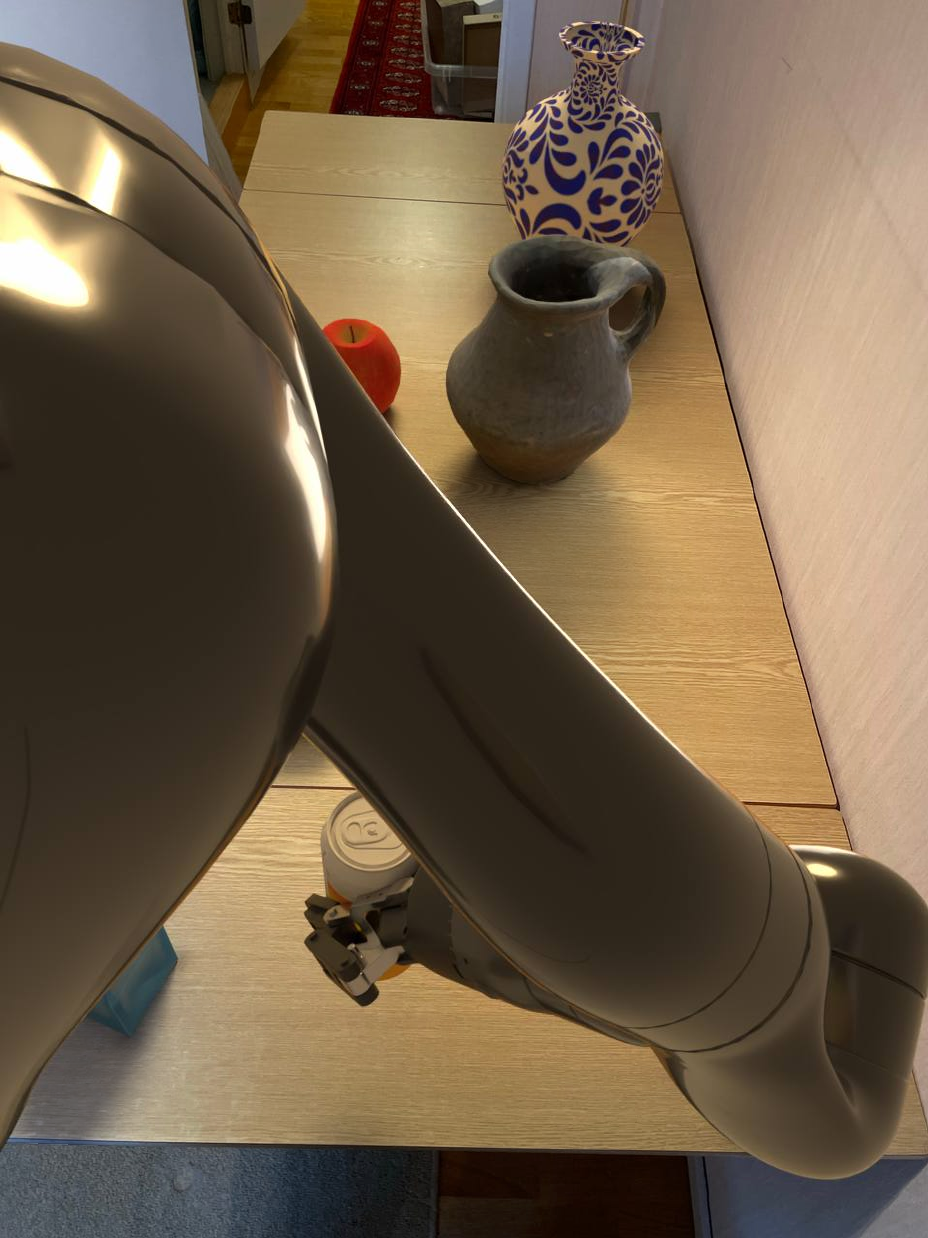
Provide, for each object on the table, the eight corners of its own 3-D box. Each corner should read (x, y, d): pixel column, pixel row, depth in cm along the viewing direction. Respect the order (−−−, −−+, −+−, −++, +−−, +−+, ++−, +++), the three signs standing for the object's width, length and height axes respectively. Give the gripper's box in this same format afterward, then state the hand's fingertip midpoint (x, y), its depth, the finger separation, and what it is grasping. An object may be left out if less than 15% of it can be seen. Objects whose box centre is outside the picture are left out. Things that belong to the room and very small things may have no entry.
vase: (613, 324, 132) (659, 88, 109) (469, 280, 137) (484, 46, 114) (662, 252, 145) (712, 28, 122) (528, 214, 150) (552, -7, 127)
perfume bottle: (57, 1003, 71) (7, 938, 62) (107, 927, 75) (67, 855, 66) (130, 1037, 70) (90, 976, 61) (178, 958, 74) (147, 889, 65)
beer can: (428, 979, 64) (435, 870, 53) (334, 992, 63) (322, 884, 52) (416, 894, 68) (421, 776, 57) (328, 905, 67) (315, 787, 56)
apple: (406, 381, 122) (406, 304, 113) (393, 436, 115) (393, 359, 106) (320, 372, 122) (314, 295, 114) (302, 426, 115) (294, 349, 107)
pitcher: (436, 399, 119) (443, 200, 100) (610, 397, 122) (650, 201, 103) (449, 516, 106) (461, 313, 87) (645, 511, 108) (698, 312, 89)
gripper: (575, 765, 50) (407, 754, 64) (372, 967, 43) (232, 906, 57) (639, 879, 52) (462, 845, 66) (456, 1092, 45) (300, 1003, 58)
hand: (356, 873), depth 61 cm, fingers closed on beer can, 6 cm apart
